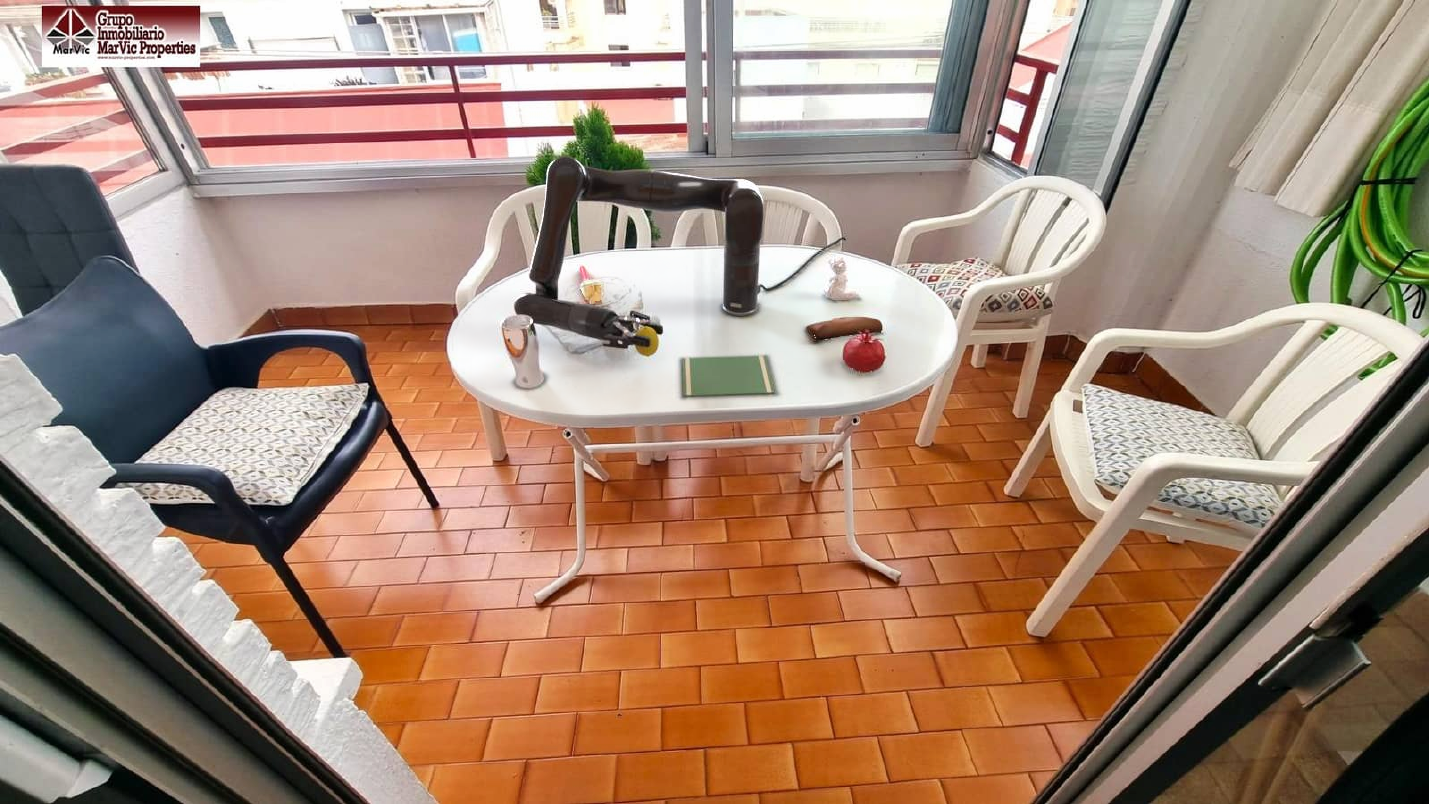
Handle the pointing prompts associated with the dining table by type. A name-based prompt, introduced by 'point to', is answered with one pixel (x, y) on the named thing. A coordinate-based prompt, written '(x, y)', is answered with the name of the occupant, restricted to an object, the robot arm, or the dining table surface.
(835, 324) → the sunglasses case
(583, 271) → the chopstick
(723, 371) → the cloth
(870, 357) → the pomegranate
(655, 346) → the lemon
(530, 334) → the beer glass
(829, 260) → the white creature statuette
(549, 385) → the dining table surface
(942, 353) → the dining table surface
